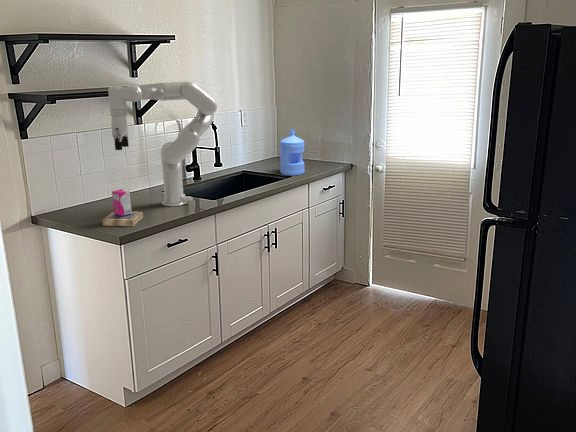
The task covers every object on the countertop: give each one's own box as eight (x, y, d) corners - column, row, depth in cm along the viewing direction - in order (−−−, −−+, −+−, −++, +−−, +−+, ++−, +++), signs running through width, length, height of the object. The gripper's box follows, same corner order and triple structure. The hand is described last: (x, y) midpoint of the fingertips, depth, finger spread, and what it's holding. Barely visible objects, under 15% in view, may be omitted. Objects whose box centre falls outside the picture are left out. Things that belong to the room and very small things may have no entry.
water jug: (275, 173, 359) (274, 129, 351) (291, 169, 370) (291, 127, 362) (293, 176, 349) (293, 131, 341) (309, 172, 360) (309, 129, 352)
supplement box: (124, 212, 260) (122, 188, 257) (132, 214, 256) (130, 190, 253) (113, 215, 256) (111, 190, 253) (121, 217, 252) (119, 192, 249)
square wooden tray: (143, 217, 263) (142, 211, 262) (133, 226, 250) (132, 219, 249) (114, 217, 264) (113, 210, 263) (102, 225, 251) (102, 219, 250)
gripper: (117, 111, 275) (120, 145, 280) (104, 114, 259) (108, 151, 264) (132, 110, 275) (135, 145, 280) (120, 114, 259) (124, 151, 263)
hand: (122, 148), depth 272 cm, fingers open, 9 cm apart
